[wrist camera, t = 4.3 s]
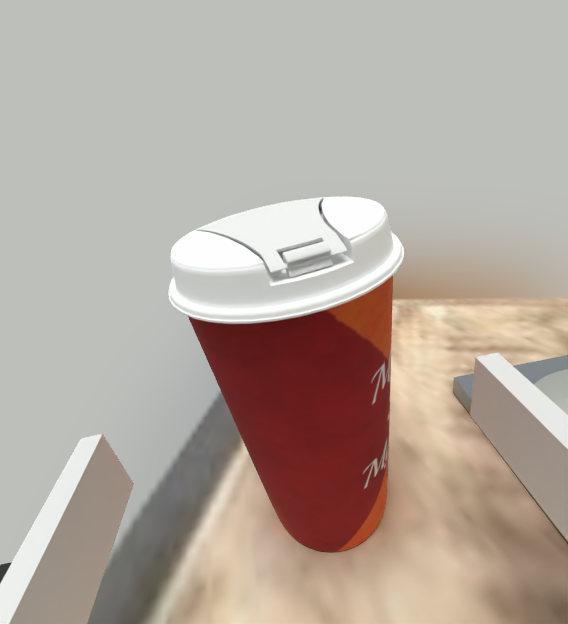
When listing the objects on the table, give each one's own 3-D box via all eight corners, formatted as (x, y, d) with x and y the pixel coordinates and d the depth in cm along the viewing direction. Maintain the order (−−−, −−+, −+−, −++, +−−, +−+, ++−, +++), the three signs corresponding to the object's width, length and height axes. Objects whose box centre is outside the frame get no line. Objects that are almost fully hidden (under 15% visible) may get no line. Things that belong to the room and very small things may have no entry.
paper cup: (446, 539, 15) (468, 214, 8) (276, 613, 14) (140, 306, 7) (361, 415, 21) (336, 183, 15) (244, 458, 20) (160, 227, 14)
